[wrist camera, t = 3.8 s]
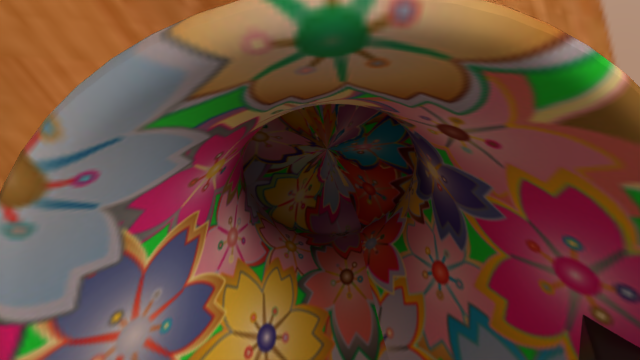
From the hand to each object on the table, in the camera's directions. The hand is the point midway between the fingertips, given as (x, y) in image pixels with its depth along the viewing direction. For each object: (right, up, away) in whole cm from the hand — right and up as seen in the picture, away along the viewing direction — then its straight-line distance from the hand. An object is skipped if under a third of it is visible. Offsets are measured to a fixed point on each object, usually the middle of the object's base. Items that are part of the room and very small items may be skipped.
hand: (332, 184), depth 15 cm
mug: (0, +1, 0) cm, 1 cm away
